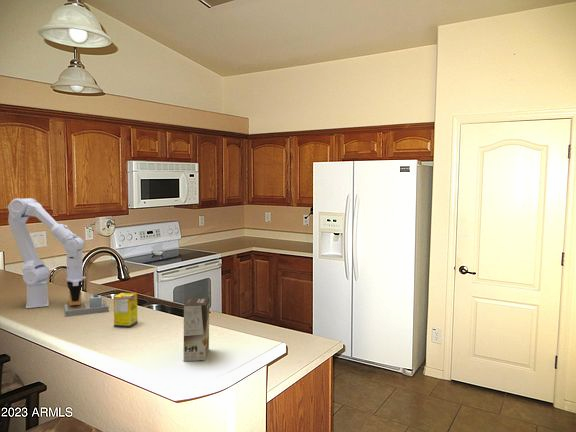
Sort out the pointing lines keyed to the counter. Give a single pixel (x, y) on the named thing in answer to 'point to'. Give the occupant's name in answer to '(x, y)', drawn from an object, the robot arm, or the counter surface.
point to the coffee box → (196, 329)
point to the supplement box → (125, 309)
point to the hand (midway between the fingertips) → (75, 299)
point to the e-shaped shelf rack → (86, 309)
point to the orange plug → (74, 301)
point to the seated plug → (95, 301)
